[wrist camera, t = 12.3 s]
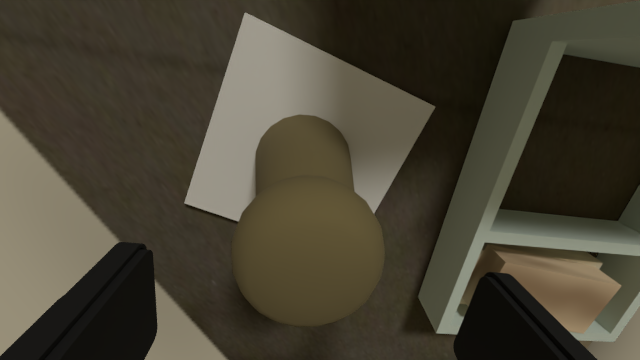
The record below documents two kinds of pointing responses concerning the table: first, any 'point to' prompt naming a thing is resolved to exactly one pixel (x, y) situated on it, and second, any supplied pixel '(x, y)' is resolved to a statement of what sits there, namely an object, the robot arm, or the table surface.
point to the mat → (305, 99)
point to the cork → (306, 229)
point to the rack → (502, 158)
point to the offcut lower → (550, 255)
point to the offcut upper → (550, 284)
